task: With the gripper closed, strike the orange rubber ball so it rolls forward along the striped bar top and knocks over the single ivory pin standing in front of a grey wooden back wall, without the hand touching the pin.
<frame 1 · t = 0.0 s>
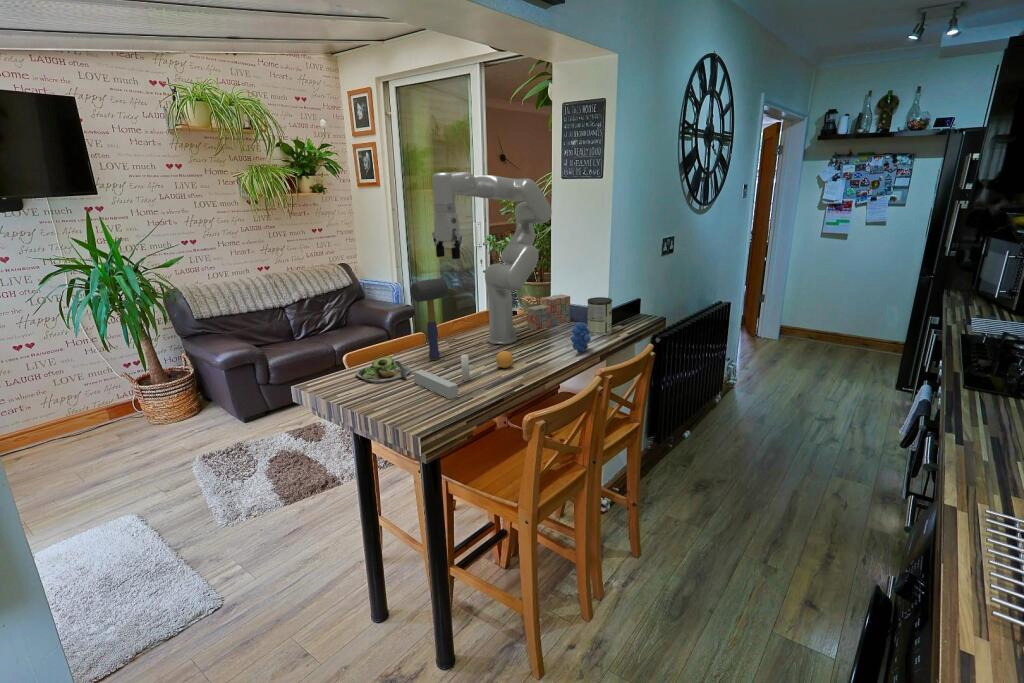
hand: (448, 257, 190), 37 cm above the table, tool pointing down, fingers open, 9 cm apart
salad plate: (384, 375, 182), on the table
rubber mallet: (434, 360, 195), on the table
stack of blocks: (549, 325, 239), on the table
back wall: (435, 389, 165), on the table
grapes: (582, 353, 197), on the table
ball: (504, 359, 183), on the table
pin: (466, 379, 173), on the table
coffee can: (599, 332, 224), on the table
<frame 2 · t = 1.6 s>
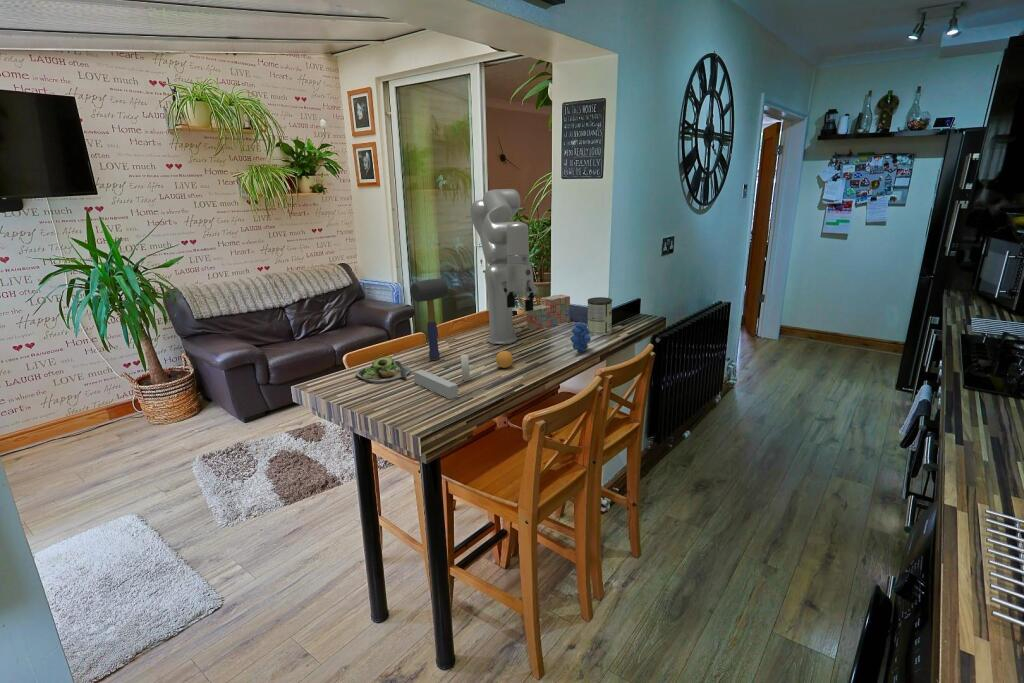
hand: (520, 308, 184), 19 cm above the table, tool pointing down, fingers open, 9 cm apart
nothing on the table moved.
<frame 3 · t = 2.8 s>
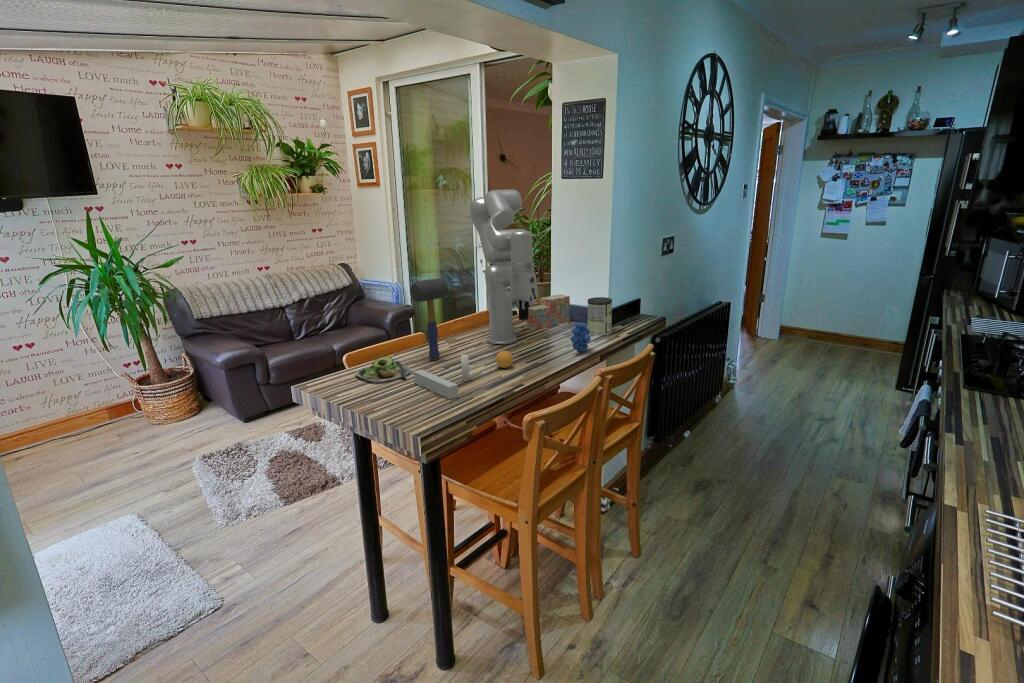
hand: (523, 319, 185), 16 cm above the table, tool pointing down, fingers closed
nothing on the table moved.
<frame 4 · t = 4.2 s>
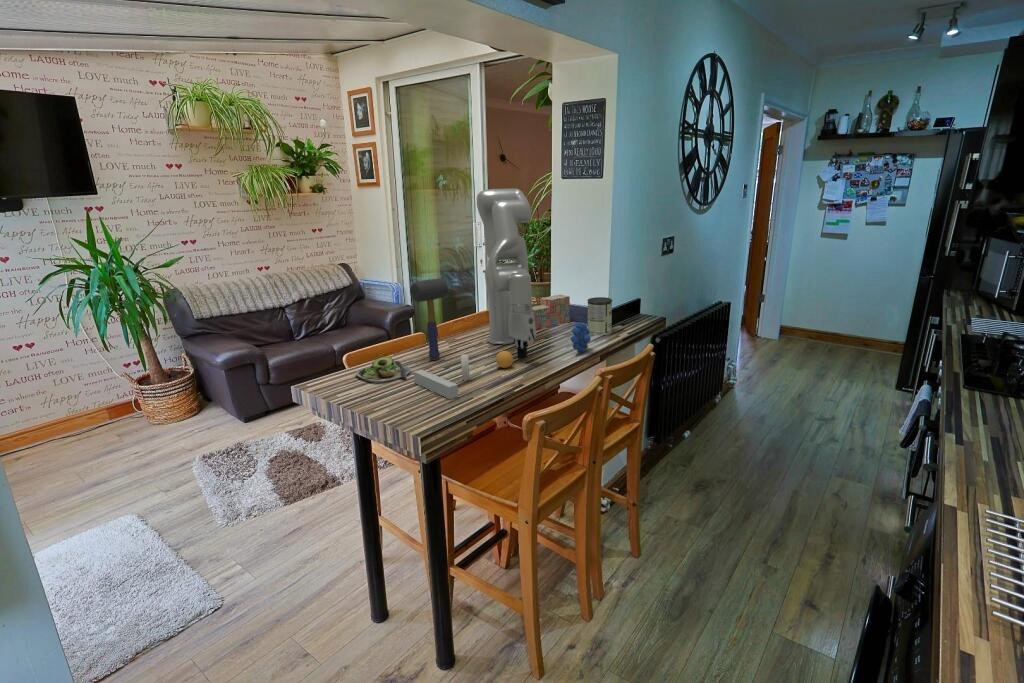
hand: (522, 357, 189), 2 cm above the table, tool pointing down, fingers closed
nothing on the table moved.
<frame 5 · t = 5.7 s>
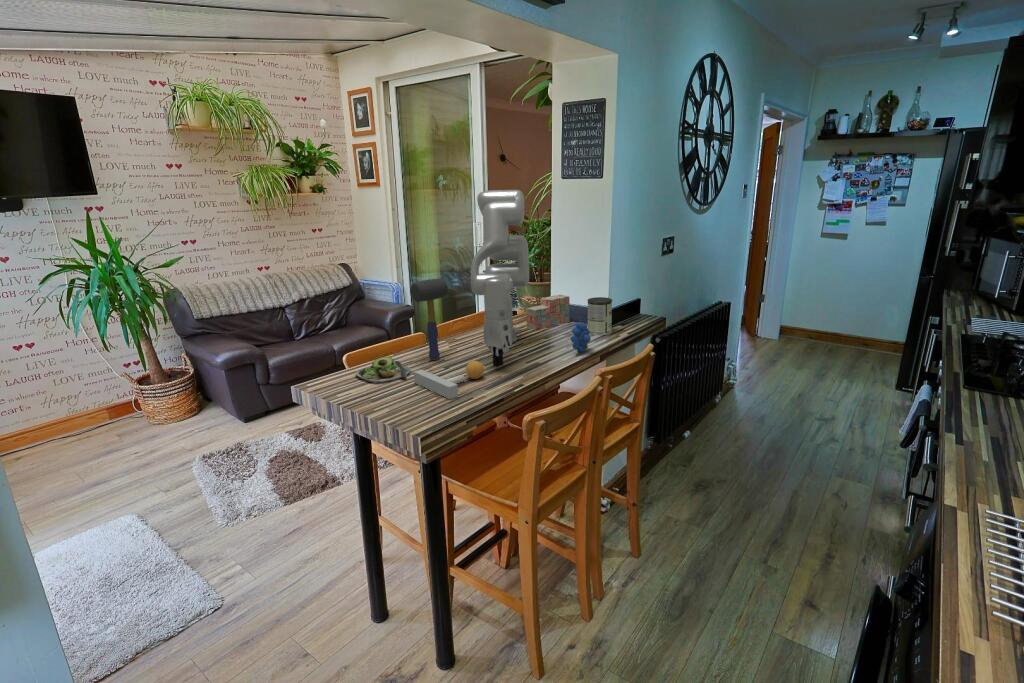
hand: (498, 365, 182), 2 cm above the table, tool pointing down, fingers closed
ball: (474, 369, 173), on the table
pin: (462, 378, 172), point 1 cm above the table, tilted 90°
everything else where it was.
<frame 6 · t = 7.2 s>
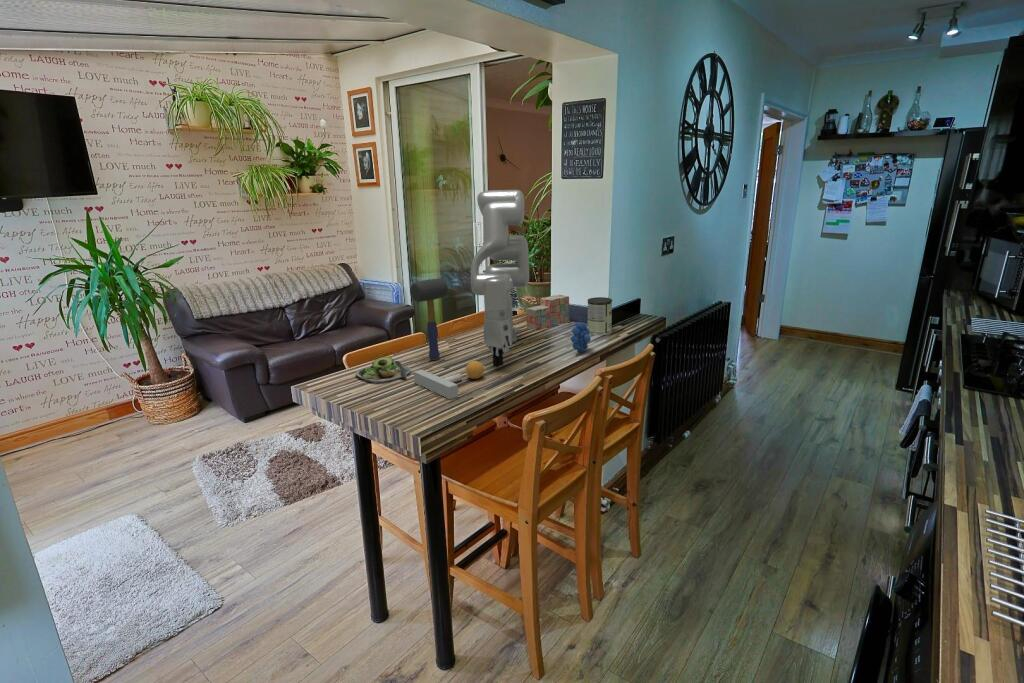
hand: (498, 365, 182), 2 cm above the table, tool pointing down, fingers closed
pin: (460, 376, 173), point 1 cm above the table, tilted 90°
everything else where it was.
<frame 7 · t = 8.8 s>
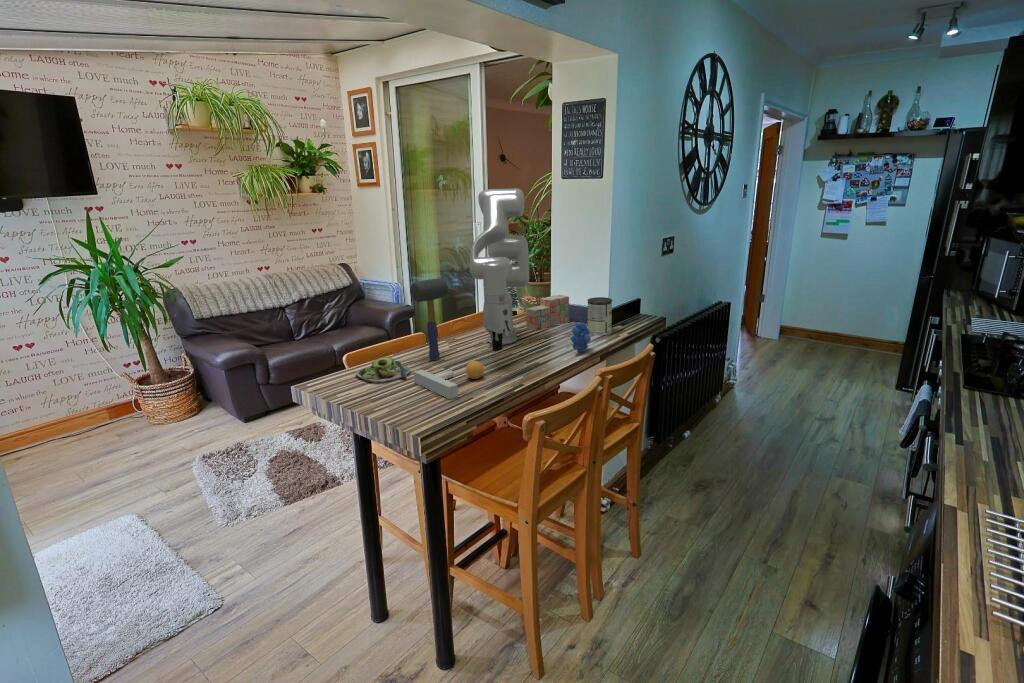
hand: (497, 349, 181), 7 cm above the table, tool pointing down, fingers closed
pin: (451, 373, 176), point 1 cm above the table, tilted 90°
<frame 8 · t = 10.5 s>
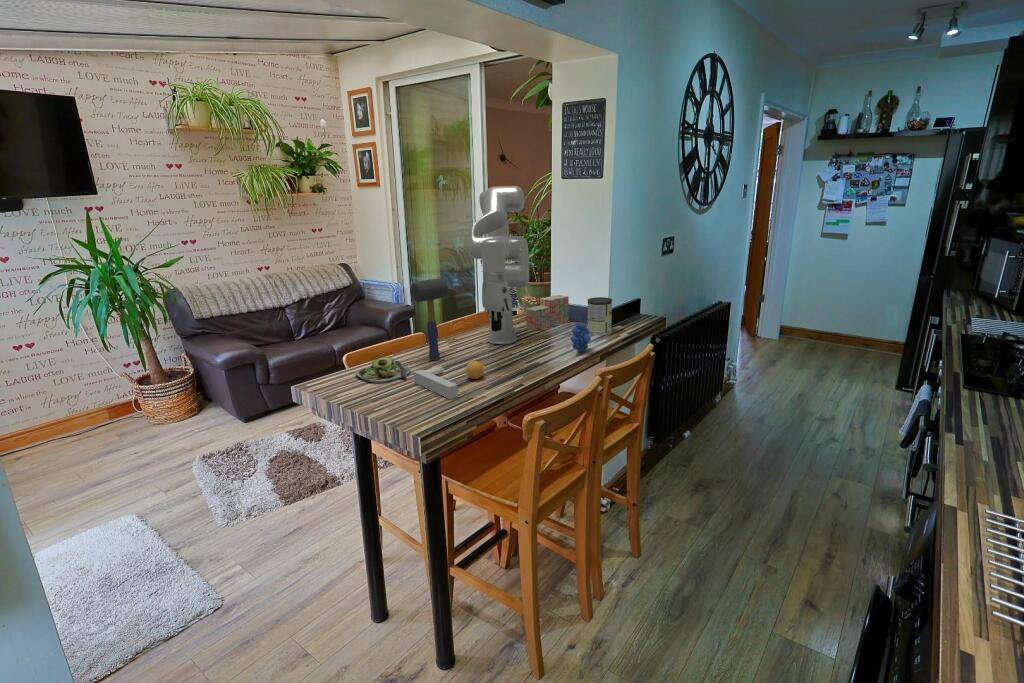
hand: (496, 330, 178), 14 cm above the table, tool pointing down, fingers closed
pin: (441, 369, 181), point 1 cm above the table, tilted 90°
at the end: pin tilted 90°; pin never touched the robot; ball moved 14.0 cm from its start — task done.
